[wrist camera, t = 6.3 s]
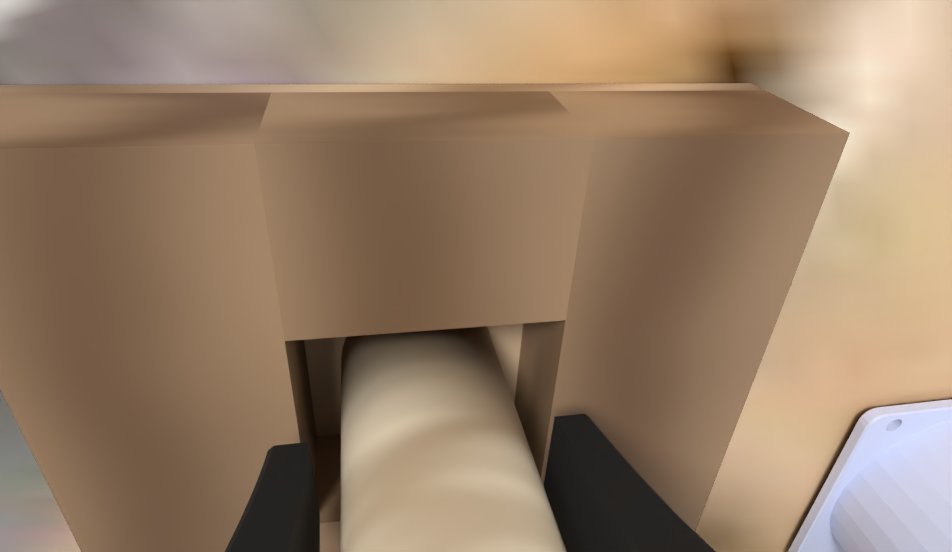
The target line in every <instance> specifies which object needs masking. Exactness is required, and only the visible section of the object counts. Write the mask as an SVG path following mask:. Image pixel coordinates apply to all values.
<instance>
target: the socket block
mask: <svg viewBox="0 0 952 552" xmlns="http://www.w3.org/2000/svg"><path fill="white" fill-rule="evenodd" d="M849 134H850V133H849V132H847V131H845V130H843V129H841V128H839V127H837V126H835V125H833V124H831V123H829V122H827V121H825V120H823V119H821V118H819V117H817V116H815V115H813V114H811V113H809V112H807V111H805V110H803V109H801V108H799V107H797V106H795V105H793V104H791V103H789V102H787V101H785V100H783V99H781V98H779V97H777V96H775V95H773V94H771V93H769V92H767V91H765V90H763V89H761V88H759V87H757V86H755V85H753V84H751V83H701V84H233V85H0V390H1V392H2V394H3V396H4V398H5V400H6V402H7V404H8V406H9V408H10V410H11V412H12V414H13V416H14V418H15V420H16V422H17V424H18V426H19V428H20V430H21V432H22V434H23V436H24V438H25V440H26V442H27V444H28V446H29V448H30V450H31V452H32V454H33V456H34V458H35V460H36V462H37V464H38V466H39V468H40V470H41V472H42V474H43V476H44V478H45V480H46V482H47V484H48V486H49V488H50V490H51V492H52V494H53V496H54V498H55V500H56V502H57V504H58V506H59V508H60V510H61V512H62V514H63V516H64V518H65V520H66V522H67V524H68V526H69V528H70V530H71V532H72V534H73V536H74V538H75V540H76V542H77V544H78V546H79V548H80V550H81V552H225V550H226V548H227V546H228V544H229V542H230V540H231V538H232V536H233V534H234V532H235V530H236V527H237V525H238V523H239V521H240V519H241V517H242V515H243V513H244V510H245V508H246V506H247V504H248V501H249V499H250V497H251V494H252V492H253V490H254V487H255V485H256V482H257V480H258V477H259V475H260V472H261V469H262V467H263V464H264V461H265V458H266V455H267V452H268V450H269V449H270V448H272V447H273V446H274V445H284V444H294V443H304V442H309V443H310V450H311V457H312V464H313V471H314V478H315V485H316V492H317V499H318V506H319V513H320V552H340V491H341V354H342V348H343V344H344V341H345V339H346V337H348V336H361V335H375V334H388V333H402V332H415V331H429V330H442V329H456V328H469V327H483V326H486V327H487V329H488V332H489V334H490V337H491V340H492V343H493V345H494V348H495V351H496V354H497V357H498V359H499V362H500V365H501V368H502V371H503V373H504V376H505V379H506V382H507V385H508V388H509V390H510V393H511V396H512V399H513V402H514V404H515V407H516V410H517V413H518V416H519V419H520V421H521V424H522V427H523V430H524V433H525V435H526V438H527V441H528V444H529V447H530V449H531V452H532V455H533V458H534V461H535V464H536V466H537V469H538V472H539V475H540V478H541V480H542V483H543V485H544V479H545V473H546V467H547V461H548V454H549V448H550V442H551V436H552V430H553V424H554V417H556V416H566V415H576V414H586V415H587V416H589V417H590V418H591V420H592V421H593V422H594V423H595V424H596V426H597V427H598V428H599V429H600V430H601V431H602V433H603V434H604V435H605V436H606V437H607V438H608V440H609V441H610V442H611V443H612V444H613V445H614V447H615V448H616V449H617V450H618V451H619V452H620V453H621V455H622V456H623V457H624V458H625V459H626V460H627V461H628V462H629V464H630V465H631V466H632V467H633V468H634V469H635V470H636V471H637V473H638V474H639V475H640V476H641V477H642V478H643V479H644V480H645V481H646V482H647V483H648V484H649V486H650V487H651V488H652V489H653V490H654V491H655V492H656V493H657V494H658V495H659V496H660V497H661V498H662V499H663V500H664V501H665V502H666V503H667V504H668V505H669V507H670V508H671V509H672V510H673V511H674V512H675V513H676V514H677V515H678V516H679V517H680V518H681V519H682V520H683V521H684V522H685V523H686V524H687V525H688V526H689V527H690V528H691V529H692V530H693V531H695V530H696V527H697V525H698V522H699V520H700V517H701V514H702V512H703V509H704V507H705V504H706V502H707V499H708V496H709V494H710V491H711V489H712V486H713V484H714V481H715V478H716V476H717V473H718V471H719V468H720V466H721V463H722V460H723V458H724V455H725V453H726V450H727V448H728V445H729V442H730V440H731V437H732V435H733V432H734V430H735V427H736V424H737V422H738V419H739V417H740V414H741V412H742V409H743V406H744V404H745V401H746V399H747V396H748V394H749V391H750V388H751V386H752V383H753V381H754V378H755V375H756V373H757V370H758V368H759V365H760V363H761V360H762V357H763V355H764V352H765V350H766V347H767V345H768V342H769V339H770V337H771V334H772V332H773V329H774V327H775V324H776V321H777V319H778V316H779V314H780V311H781V309H782V306H783V303H784V301H785V298H786V296H787V293H788V291H789V288H790V285H791V283H792V280H793V278H794V275H795V273H796V270H797V267H798V265H799V262H800V260H801V257H802V255H803V252H804V249H805V247H806V244H807V242H808V239H809V236H810V234H811V231H812V229H813V226H814V224H815V221H816V218H817V216H818V213H819V211H820V208H821V206H822V203H823V200H824V198H825V195H826V193H827V190H828V188H829V185H830V182H831V180H832V177H833V175H834V172H835V170H836V167H837V164H838V162H839V159H840V157H841V154H842V152H843V149H844V146H845V144H846V141H847V139H848V136H849Z"/></svg>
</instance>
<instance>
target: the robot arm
mask: <svg viewBox="0 0 952 552" xmlns="http://www.w3.org/2000/svg"><path fill="white" fill-rule="evenodd" d="M543 486H544V489H545V492H546V495H547V497H548V500H549V503H550V506H551V509H552V511H553V514H554V517H555V520H556V523H557V526H558V528H559V531H560V534H561V537H562V540H563V542H564V545H565V548H566V551H567V552H716V551H714V550H713V549H712V548H711V547H710V546H709V545H708V544H707V543H706V542H705V541H704V540H703V539H702V538H701V537H700V536H699V535H698V534H697V533H696V532H695V531H693V530H692V529H691V528H690V527H689V526H688V525H687V524H686V523H685V522H684V521H683V520H682V519H681V518H680V517H679V516H678V515H677V514H676V513H675V512H674V511H673V510H672V509H671V508H670V507H669V505H668V504H667V503H666V502H665V501H664V500H663V499H662V498H661V497H660V496H659V495H658V494H657V493H656V492H655V491H654V490H653V489H652V488H651V487H650V486H649V484H648V483H647V482H646V481H645V480H644V479H643V478H642V477H641V476H640V475H639V474H638V473H637V471H636V470H635V469H634V468H633V467H632V466H631V465H630V464H629V462H628V461H627V460H626V459H625V458H624V457H623V456H622V455H621V453H620V452H619V451H618V450H617V449H616V448H615V447H614V445H613V444H612V443H611V442H610V441H609V440H608V438H607V437H606V436H605V435H604V434H603V433H602V431H601V430H600V429H599V428H598V427H597V426H596V424H595V423H594V422H593V421H592V420H591V418H590V417H589V416H587V415H586V414H576V415H566V416H556V417H554V424H553V430H552V436H551V442H550V448H549V454H548V461H547V467H546V473H545V479H544V485H543ZM225 552H320V513H319V506H318V499H317V492H316V485H315V478H314V471H313V464H312V457H311V450H310V443H309V442H304V443H294V444H284V445H274V446H273V447H272V448H270V449H269V450H268V452H267V455H266V458H265V461H264V464H263V467H262V469H261V472H260V475H259V477H258V480H257V482H256V485H255V487H254V490H253V492H252V494H251V497H250V499H249V501H248V504H247V506H246V508H245V510H244V513H243V515H242V517H241V519H240V521H239V523H238V525H237V527H236V530H235V532H234V534H233V536H232V538H231V540H230V542H229V544H228V546H227V548H226V550H225ZM788 552H952V399H948V400H939V401H930V402H921V403H912V404H903V405H894V406H885V407H877V408H873V409H870V410H868V411H866V412H865V413H864V414H863V415H862V416H861V417H860V418H859V420H858V422H857V424H856V426H855V427H854V429H853V431H852V433H851V435H850V437H849V439H848V440H847V442H846V444H845V446H844V448H843V450H842V452H841V453H840V455H839V457H838V459H837V461H836V463H835V465H834V467H833V468H832V470H831V472H830V474H829V476H828V478H827V480H826V481H825V483H824V485H823V487H822V489H821V491H820V493H819V495H818V496H817V498H816V500H815V502H814V504H813V506H812V508H811V509H810V511H809V513H808V515H807V517H806V519H805V521H804V522H803V524H802V526H801V528H800V530H799V532H798V534H797V536H796V537H795V539H794V541H793V543H792V545H791V547H790V549H789V550H788Z"/></svg>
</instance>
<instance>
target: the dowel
mask: <svg viewBox="0 0 952 552" xmlns="http://www.w3.org/2000/svg"><path fill="white" fill-rule="evenodd" d="M340 552H567V551H566V548H565V545H564V542H563V540H562V537H561V534H560V531H559V528H558V526H557V523H556V520H555V517H554V514H553V511H552V509H551V506H550V503H549V500H548V497H547V495H546V492H545V489H544V486H543V483H542V480H541V478H540V475H539V472H538V469H537V466H536V464H535V461H534V458H533V455H532V452H531V449H530V447H529V444H528V441H527V438H526V435H525V433H524V430H523V427H522V424H521V421H520V419H519V416H518V413H517V410H516V407H515V404H514V402H513V399H512V396H511V393H510V390H509V388H508V385H507V382H506V379H505V376H504V373H503V371H502V368H501V365H500V362H499V359H498V357H497V354H496V351H495V348H494V345H493V343H492V340H491V337H490V334H489V332H488V329H487V327H486V326H483V327H469V328H456V329H442V330H429V331H415V332H402V333H388V334H375V335H361V336H348V337H346V339H345V341H344V344H343V348H342V354H341V491H340Z"/></svg>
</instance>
